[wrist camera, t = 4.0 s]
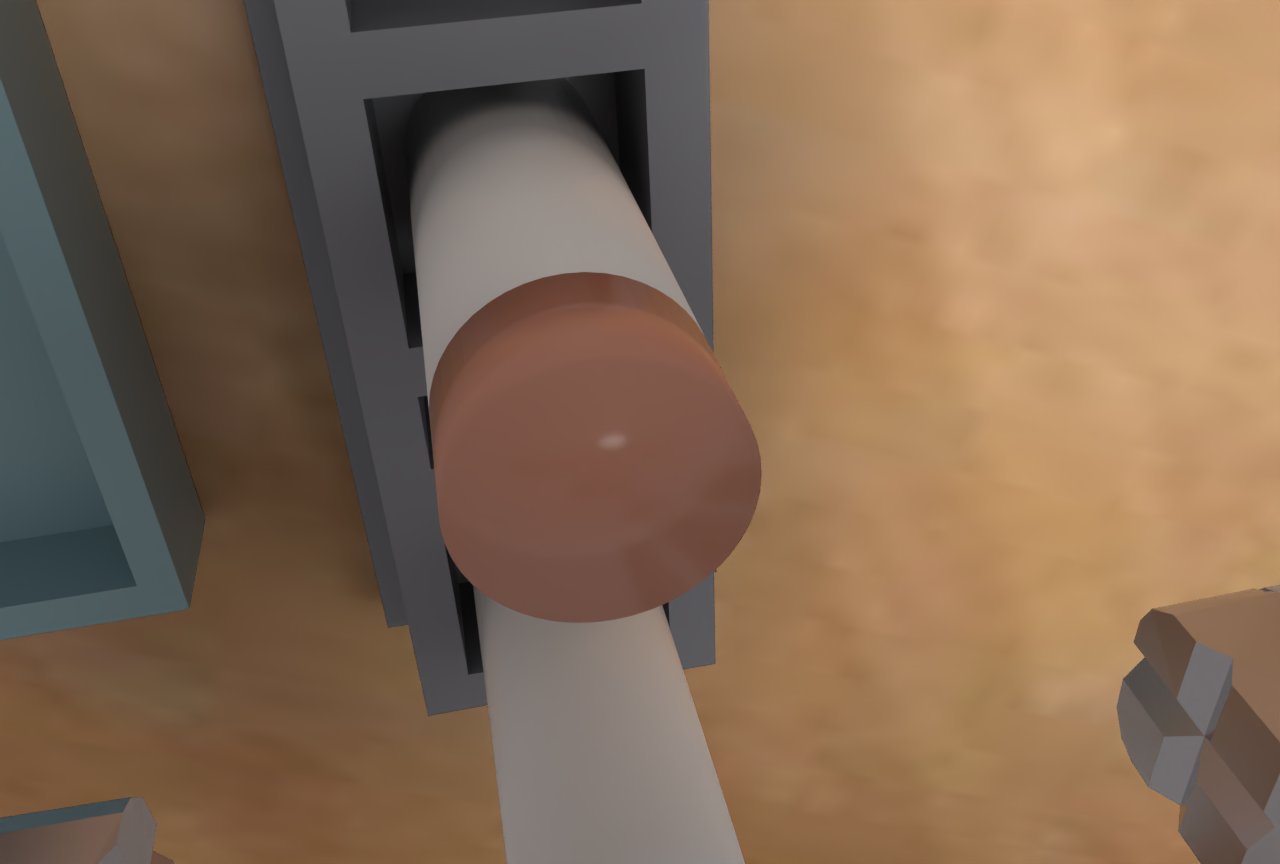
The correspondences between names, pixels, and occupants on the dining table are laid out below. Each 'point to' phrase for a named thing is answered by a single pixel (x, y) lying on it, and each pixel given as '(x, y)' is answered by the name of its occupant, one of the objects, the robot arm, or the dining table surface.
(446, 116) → the capped peg
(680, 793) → the plain peg
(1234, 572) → the dining table surface
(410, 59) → the grey slotted rack
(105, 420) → the tray
